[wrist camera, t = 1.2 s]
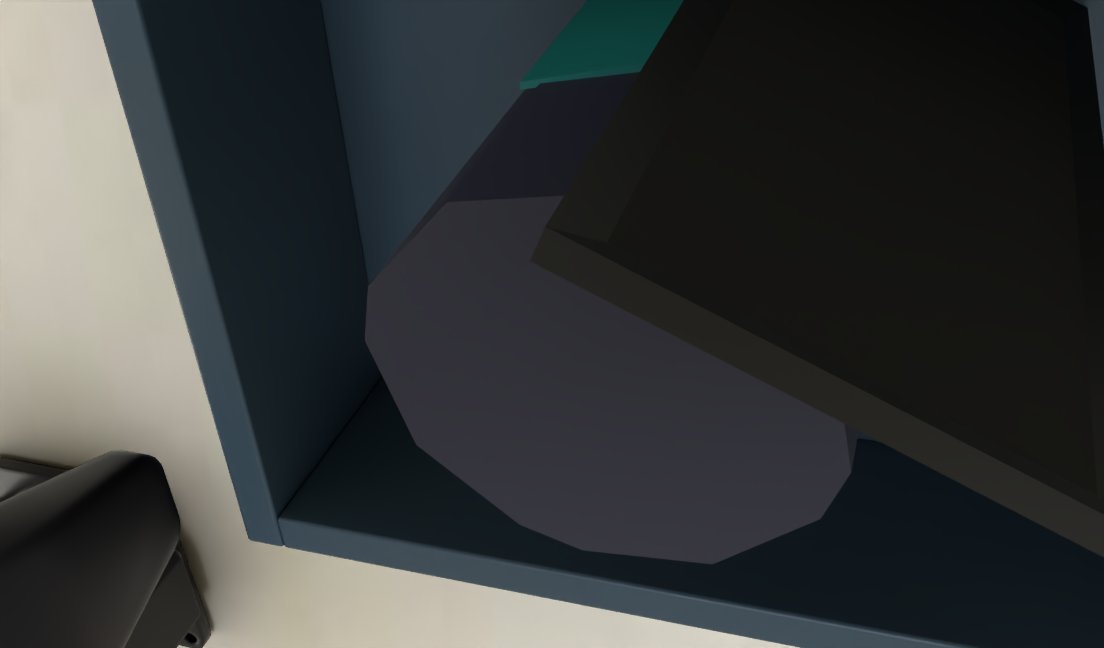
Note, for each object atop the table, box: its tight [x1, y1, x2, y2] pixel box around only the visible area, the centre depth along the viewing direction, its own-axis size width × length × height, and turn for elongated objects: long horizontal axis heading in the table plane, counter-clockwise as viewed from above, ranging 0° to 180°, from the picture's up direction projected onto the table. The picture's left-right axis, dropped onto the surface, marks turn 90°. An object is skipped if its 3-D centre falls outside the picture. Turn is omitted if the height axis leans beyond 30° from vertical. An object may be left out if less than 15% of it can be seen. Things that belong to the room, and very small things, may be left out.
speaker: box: [365, 0, 1104, 564], centre depth 13 cm, size 8×6×10 cm
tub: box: [92, 0, 1104, 648], centre depth 15 cm, size 19×16×5 cm
